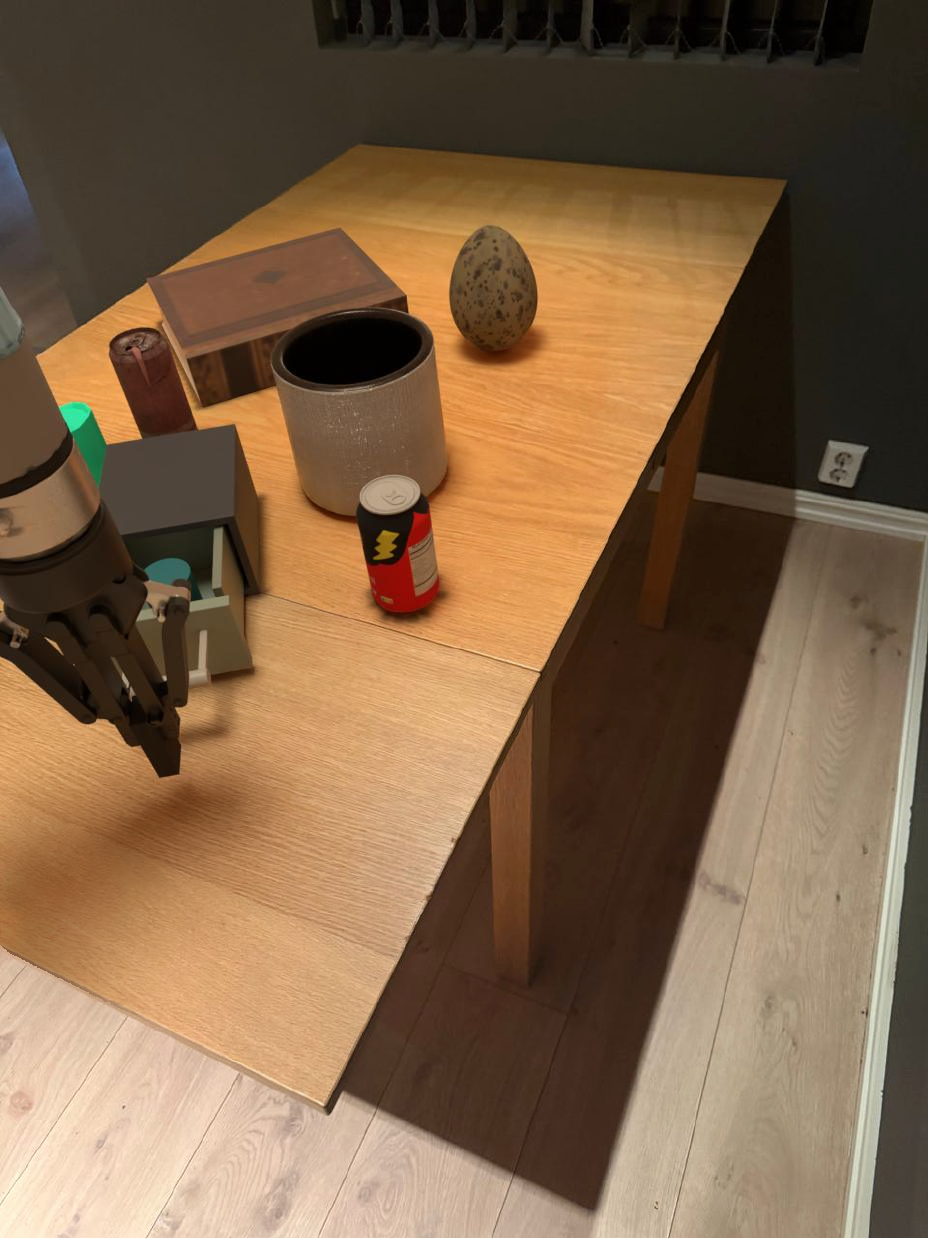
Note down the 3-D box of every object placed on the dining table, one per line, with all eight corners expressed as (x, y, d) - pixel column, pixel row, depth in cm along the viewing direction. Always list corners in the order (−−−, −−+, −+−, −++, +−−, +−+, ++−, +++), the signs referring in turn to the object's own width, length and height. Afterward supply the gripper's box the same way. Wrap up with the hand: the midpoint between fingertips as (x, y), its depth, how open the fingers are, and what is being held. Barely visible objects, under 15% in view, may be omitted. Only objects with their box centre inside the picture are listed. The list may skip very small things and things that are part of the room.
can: (158, 473, 99) (113, 361, 89) (143, 446, 103) (99, 335, 93) (210, 455, 100) (171, 343, 90) (193, 428, 104) (155, 318, 94)
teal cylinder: (159, 645, 78) (136, 597, 73) (162, 610, 81) (140, 562, 76) (209, 636, 78) (189, 588, 74) (210, 602, 81) (191, 554, 77)
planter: (469, 443, 98) (458, 313, 87) (416, 535, 88) (396, 401, 77) (340, 424, 103) (314, 297, 92) (275, 509, 93) (237, 379, 82)
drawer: (253, 719, 73) (228, 656, 67) (113, 744, 72) (76, 684, 66) (251, 564, 86) (230, 501, 80) (133, 584, 85) (103, 522, 79)
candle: (135, 482, 98) (95, 387, 89) (115, 517, 94) (70, 421, 85) (85, 482, 99) (39, 388, 90) (62, 517, 95) (13, 422, 86)
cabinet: (260, 593, 84) (234, 515, 77) (127, 616, 83) (88, 539, 76) (258, 499, 94) (235, 423, 87) (139, 519, 93) (106, 444, 86)
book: (412, 342, 115) (406, 294, 110) (202, 407, 108) (186, 358, 103) (347, 271, 130) (340, 227, 126) (161, 323, 123) (145, 278, 119)
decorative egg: (470, 320, 118) (462, 205, 107) (548, 329, 114) (548, 211, 104) (441, 362, 111) (429, 243, 100) (523, 373, 108) (520, 251, 97)
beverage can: (410, 562, 86) (394, 461, 77) (454, 593, 82) (442, 491, 74) (359, 596, 83) (337, 495, 74) (403, 629, 79) (384, 528, 71)
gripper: (-101, 587, 46) (76, 820, 64) (148, 545, 47) (257, 787, 64) (-66, 500, 52) (89, 737, 69) (158, 463, 52) (256, 707, 69)
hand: (170, 761), depth 66 cm, fingers closed
